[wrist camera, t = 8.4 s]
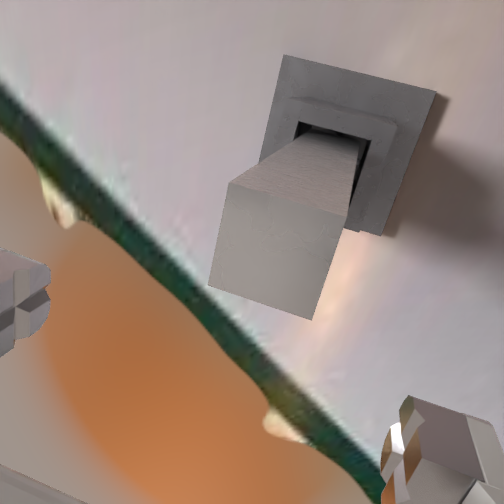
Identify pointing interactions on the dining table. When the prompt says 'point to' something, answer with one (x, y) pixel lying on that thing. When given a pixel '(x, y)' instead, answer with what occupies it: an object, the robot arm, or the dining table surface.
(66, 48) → the dining table surface
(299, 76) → the stand
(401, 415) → the robot arm
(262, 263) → the column
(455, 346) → the dining table surface
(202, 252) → the dining table surface
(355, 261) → the dining table surface
